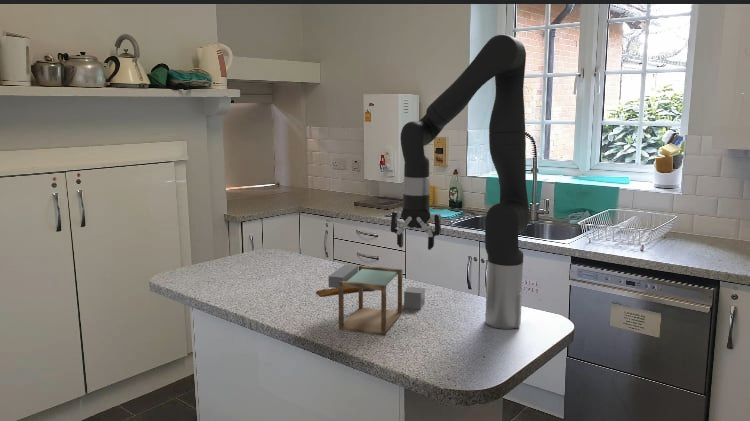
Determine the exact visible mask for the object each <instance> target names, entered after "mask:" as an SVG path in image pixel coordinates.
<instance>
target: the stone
mask: <svg viewBox="0 0 750 421" xmlns="http://www.w3.org/2000/svg"><path fill="white" fill-rule="evenodd" d="M425 294H426V288H425V287H416V286H407V287H406V289H405V290H404V291H403V309H409V310H410V309H412V310H422V308H423V307H424V306H425V304H426V303H425V298H426V296H425Z"/></svg>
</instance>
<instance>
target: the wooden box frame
mask: <svg viewBox="0 0 750 421" xmlns="http://www.w3.org/2000/svg"><path fill="white" fill-rule="evenodd" d="M362 269H370V270H381V271H392V272H397V310H387V286H386V285H377V284H367V283H357V282H347V281H339V282H338V287H339V294H338V330H339V331H347V332H356V333H361V334H370V335H377V336H386V335H387V334H388V332H389V331H390V330H391V328H392V327H393V326H394V324H395V323H397V321H398V320H399V318H400V317H401V316H402V315H403V269H402V268H391V267H382V266H381V267H379V266H372V265H371V266H369V265H368V266H367V265H358V272H359V271H360V270H362ZM344 287H350V288H359V291H358V308H357V309H356V310H355V311H354V312H353V313H352V314H351V315H350V316H349V317H348V318H347V319H345V317H344V315H345V314H344V311H345V310H344V309H345V307H344V294H345V293H344ZM363 289H369V290H371V291H380V294H381V295H380V297H381V298H380V299H381V300H380V301H381V302H380V303H381V307H380V308H372V307H371V308H370V307H364V290H363ZM344 319H345V320H344Z"/></svg>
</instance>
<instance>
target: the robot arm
mask: <svg viewBox="0 0 750 421" xmlns="http://www.w3.org/2000/svg"><path fill="white" fill-rule="evenodd" d="M526 59H527V51H526V48H525V45H524V44H523V43H522V41H521V40H520V39H519V38H516V37H514V36H512V35H510V34H509V35H508V34H504V33H503V34H502V33H500V34H497V35H494V36H492V37H490V39H489V40H488V41H487V42H486V43H485V45H483V46H482V48H481V49H480V51H479V52H478V53H477V55H476V56H475V57H474V58H473V60H472V61H471V63H469V64H468V65H467V67H466V68H465V69H464V71H463V72H461V74H460V75H459V76H458V77H457V79H455V81H453V83H452V84H451V85H449V86H448V87H447V88H446V89H444V90H445V91H443V92H442V93H441V94H440V95H439V96H438V97H436V98H435V100H433V102H432V103H430V104H429V105H428V107H427V108H426V110H425V111H426V113H425V114H424V115H423V117H422V118H421V119H419V120H418V121H415V120H414V121H408V122H406V123H405V124H404V125H403V127H402V128H401V132H400V146H401V151H402V156H403V160H404V168H403V171H404V172H403V173H404V174H403V176H404V177H403V182H402V183H403V184H402V185H403V186H402V211H397V210H394V211H392V213H391V217H390V218H391V220H390V221H391V222H390V232H391V233H395V234H396V244H397V246H398V248H403V247H404V231H405V230H406V229H407V227H409V228H410V229H413V228H414V229H415V228H416V229H421V228H422V229H423V231H424V232H425V233H426V234H427V235H428V237H427V250H429V251H430V250H433V248H434V246H435V237H436V236H439V235H441V233H442V224H441V213H440V212H438V213H431V211H430V192H431V188H430V187H431V184H430V183H431V182H430V160H429V158H428V157H427V156H426V155H425V148H424V147H425V146H427V145H429V144H430V143H431V142H433V141H434V140H435V139H436V138H437V137H438V136H439V134H440V133H441V132H442V131H443V129H444V127H445V126H447V125H448V124H449V123H450V122H451V121H452V120H453V119H455V118H456V117H457V116H458V115H459V114H460V113H461V112H462V111H463V110H464V109H465V107H466V106H467V105H468V104H469V103H470V101H471V100H472V99H473V97H474V96H475V95H476V93H477V92H478V91H479V90H480V89H481V88H482V87H483V86H484V85H485V84H486V83H487V82H488V81H490V80H492V79H493V78H494V81H495V83H494V84H495V97H494V102H493V107H492V110H491V115H490V119H489V125H488V140H489V141H488V143H489V145H488V146H489V154H490V158H491V160H492V163H493V166H494V169H495V171H496V175H497V177H498V182H499V203H495V204H493V205H492V206H491V207H489V209H488V211H487V212H486V215H485V221H484V222H485V223H484V247H485V251H486V253H487V263H486V264H487V267H486V293H485V313H484V314H485V315H484V317H485V318H484V322H485V324H487V325H488V326H490V327H492V328H495V329H501V330H502V329H503V330H504V329H505V330H508V329H509V330H510V329H511V330H512V329H520V327H521V322H522V321H521V320H522V302H523V270H524V269H523V268H524V252H523V251H522V250H521V249H520V248H519V234H520V233H522V232H524V231H525V230H526V229H527V227H528V226H529V223H530V219H531V218H530V216H531V215H530V207H529V206H530V205H529V199H528V198H529V197H528V192H527V179H526V178H527V172H526V171H527V163H526V162H527V160H526V159H527V158H526V156H527V155H526V154H527V153H526V152H527V151H526V147H527V145H526V144H527V142H526V141H527V140H526V136H527V135H526V118H525V117H526V116H525V115H526V113H525V99H524V98H525V96H524V85H525V75H526V74H525V73H526V62H527V61H526ZM400 218H402V219H403V223H402V224H401V226H400V227H399V228H398V220H399V219H400ZM429 220H432V222H433V223H434V230H433V228H432V225H431V224H430V223H429Z"/></svg>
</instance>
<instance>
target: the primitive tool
mask: <svg viewBox="0 0 750 421" xmlns="http://www.w3.org/2000/svg"><path fill="white" fill-rule="evenodd" d="M367 290H369V289H363V291H367ZM355 292H359V288H350V287H344V294H348V293H355ZM315 293H316V295H318V297H320V298H323V297H331V296H335V295H339V288H324V289H319V290H317V291H316V292H315Z"/></svg>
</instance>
